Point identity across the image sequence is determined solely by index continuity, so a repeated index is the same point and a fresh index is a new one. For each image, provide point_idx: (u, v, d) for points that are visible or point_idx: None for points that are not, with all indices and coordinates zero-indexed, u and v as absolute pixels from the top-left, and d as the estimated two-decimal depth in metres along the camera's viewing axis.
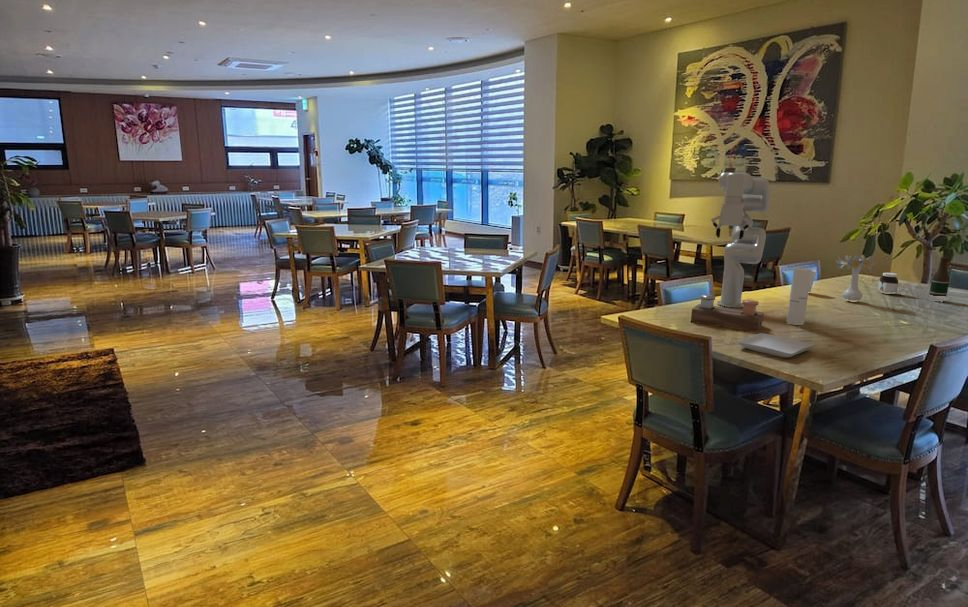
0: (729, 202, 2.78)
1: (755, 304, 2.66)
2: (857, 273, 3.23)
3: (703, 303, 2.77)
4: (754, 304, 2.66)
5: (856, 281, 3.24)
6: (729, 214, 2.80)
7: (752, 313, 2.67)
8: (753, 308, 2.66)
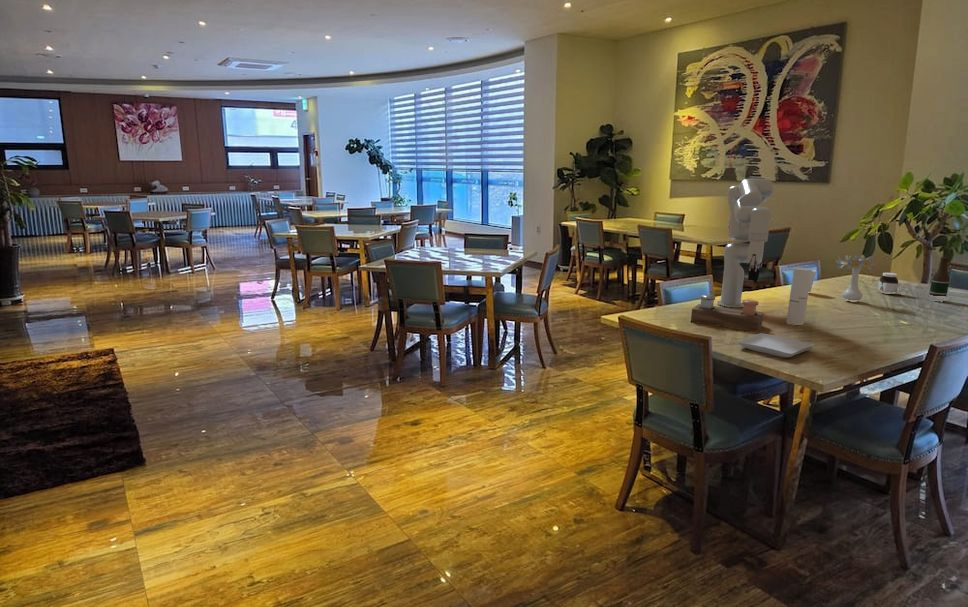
0: (766, 240, 2.60)
1: (755, 304, 2.66)
2: (857, 273, 3.23)
3: (703, 303, 2.77)
4: (754, 304, 2.66)
5: (856, 281, 3.24)
6: (761, 252, 2.62)
7: (752, 313, 2.67)
8: (753, 308, 2.66)
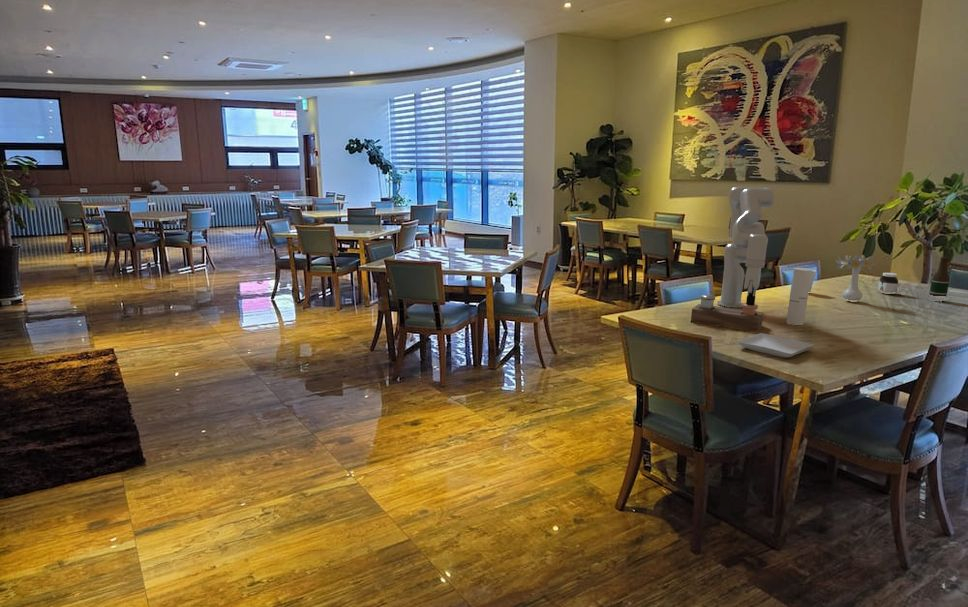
0: (763, 266, 2.62)
1: (755, 307, 2.66)
2: (857, 273, 3.23)
3: (703, 303, 2.77)
4: (754, 307, 2.66)
5: (856, 281, 3.24)
6: (758, 278, 2.64)
7: None
8: (753, 311, 2.67)
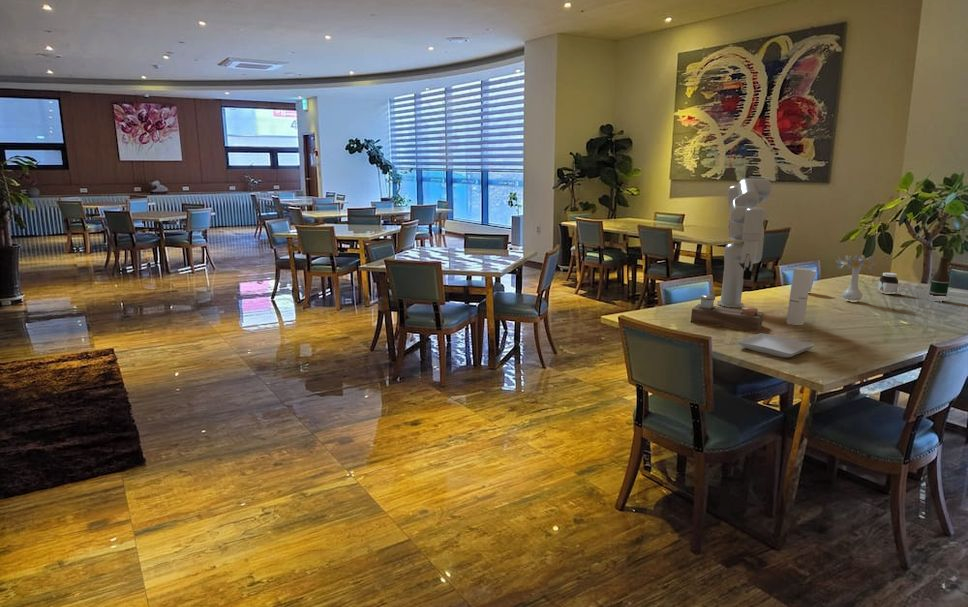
0: (760, 240, 2.61)
1: (754, 311, 2.66)
2: (857, 273, 3.23)
3: (703, 303, 2.77)
4: (753, 311, 2.66)
5: (856, 281, 3.24)
6: (755, 252, 2.63)
7: None
8: (752, 315, 2.67)
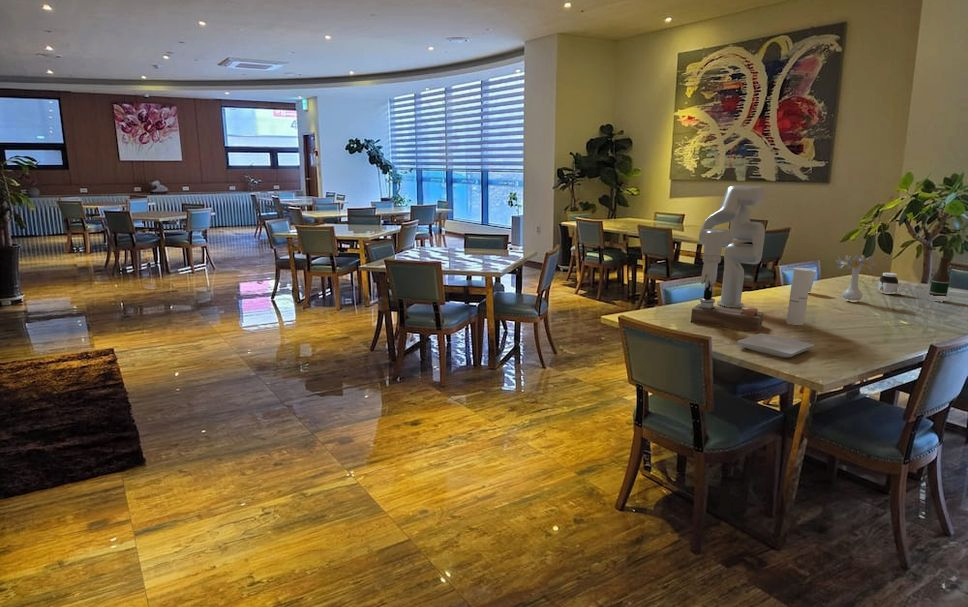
0: (719, 261, 2.71)
1: (754, 311, 2.66)
2: (857, 273, 3.23)
3: (703, 306, 2.77)
4: (753, 311, 2.66)
5: (856, 281, 3.24)
6: (715, 273, 2.74)
7: None
8: (752, 315, 2.67)
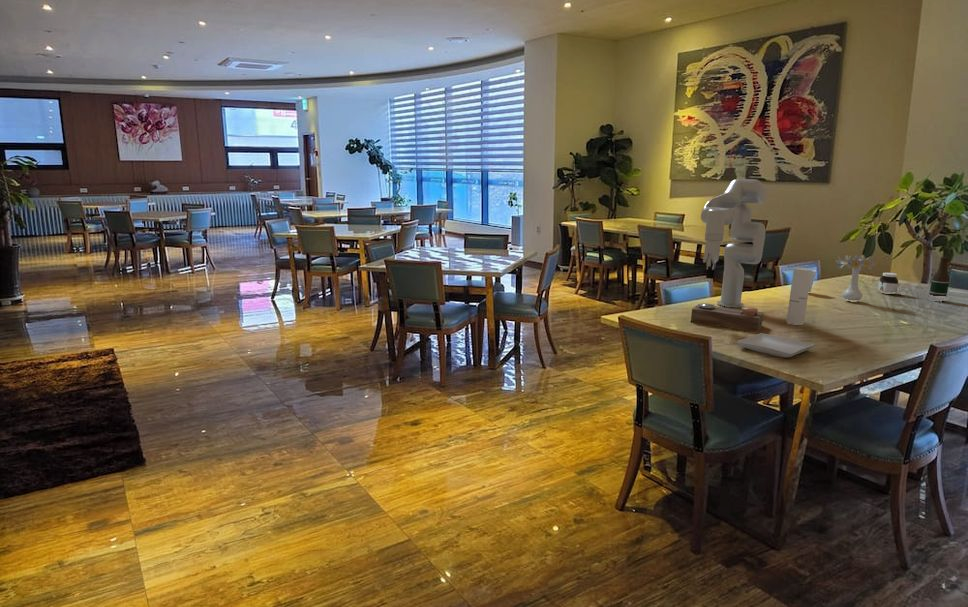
0: (721, 240, 2.69)
1: (754, 311, 2.66)
2: (857, 273, 3.23)
3: None
4: (753, 311, 2.66)
5: (856, 281, 3.24)
6: (717, 252, 2.72)
7: None
8: (752, 315, 2.67)
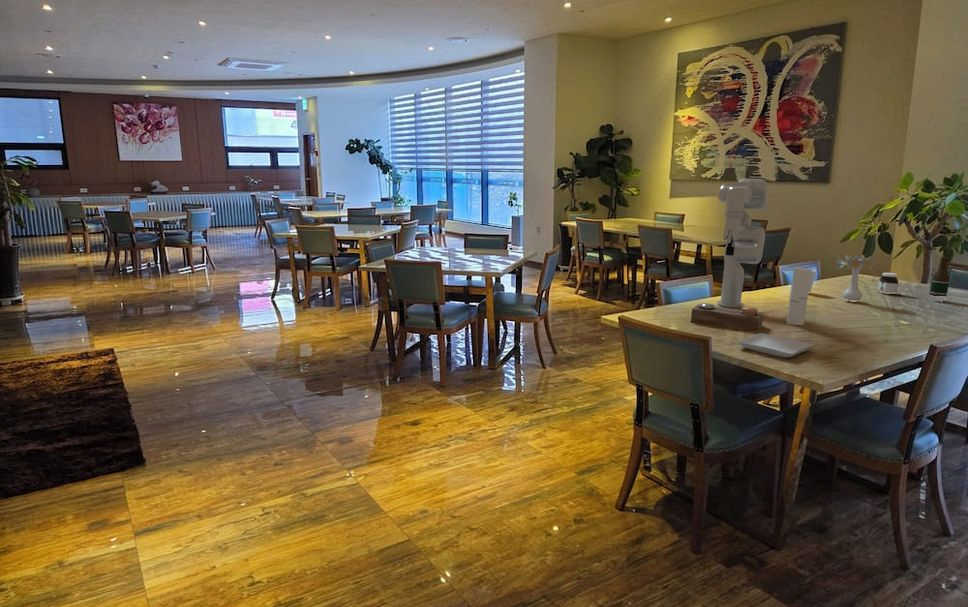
0: (741, 217, 2.75)
1: (754, 311, 2.66)
2: (857, 273, 3.23)
3: None
4: (753, 311, 2.66)
5: (856, 281, 3.24)
6: (737, 229, 2.78)
7: None
8: (752, 315, 2.67)
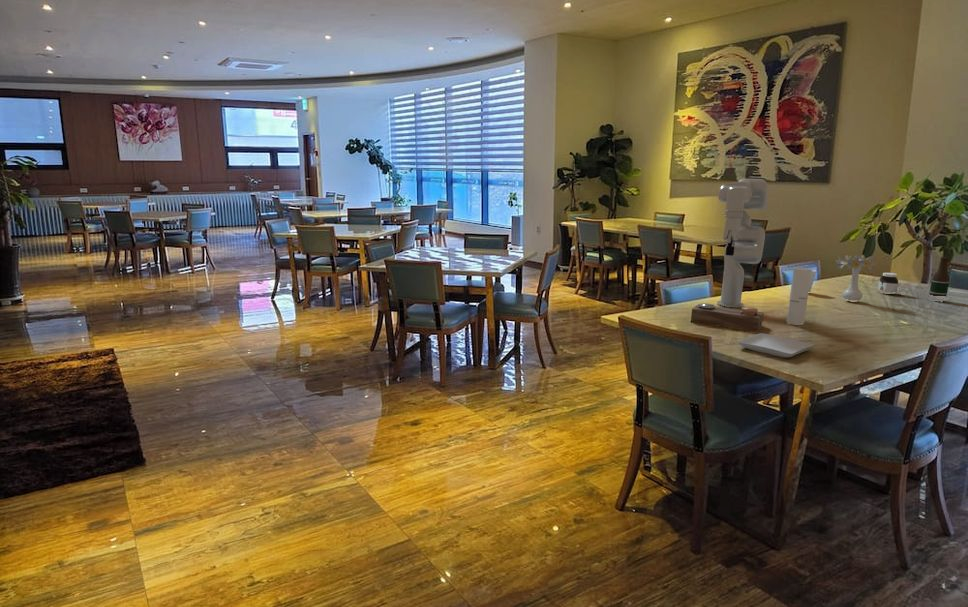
0: (741, 217, 2.75)
1: (754, 311, 2.66)
2: (857, 273, 3.23)
3: None
4: (753, 311, 2.66)
5: (856, 281, 3.24)
6: (737, 229, 2.78)
7: None
8: (752, 315, 2.67)
